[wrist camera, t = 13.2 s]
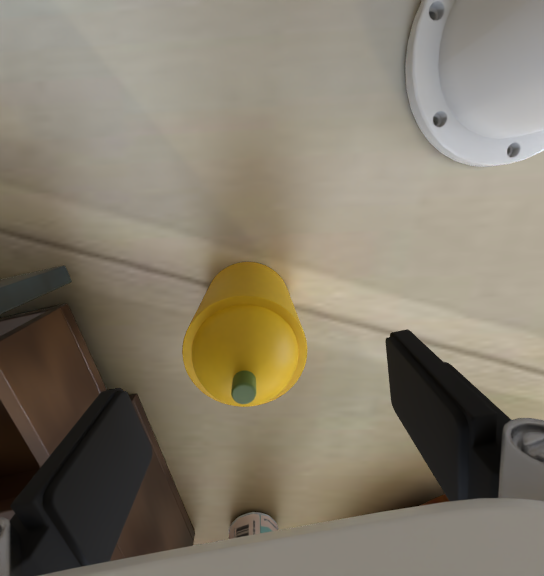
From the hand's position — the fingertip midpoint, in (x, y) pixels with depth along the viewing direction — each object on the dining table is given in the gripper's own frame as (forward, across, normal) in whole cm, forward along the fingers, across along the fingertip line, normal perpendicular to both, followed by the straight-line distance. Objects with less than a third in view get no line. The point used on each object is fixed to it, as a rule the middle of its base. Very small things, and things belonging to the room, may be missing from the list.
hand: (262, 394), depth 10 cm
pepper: (+12, +1, +1) cm, 12 cm away
